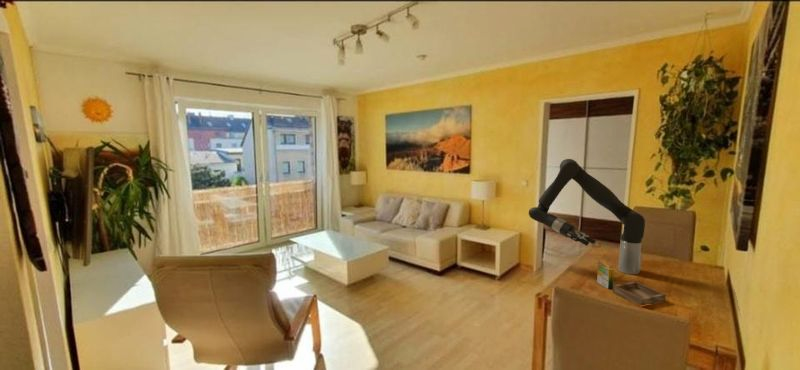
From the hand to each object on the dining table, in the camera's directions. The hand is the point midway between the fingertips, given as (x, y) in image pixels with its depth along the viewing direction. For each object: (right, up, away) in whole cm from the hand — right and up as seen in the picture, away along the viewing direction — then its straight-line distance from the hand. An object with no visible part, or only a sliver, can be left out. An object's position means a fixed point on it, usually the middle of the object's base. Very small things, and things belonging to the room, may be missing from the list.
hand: (591, 243), depth 170 cm
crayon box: (+3, -20, -6) cm, 21 cm away
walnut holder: (+10, -22, -19) cm, 30 cm away
